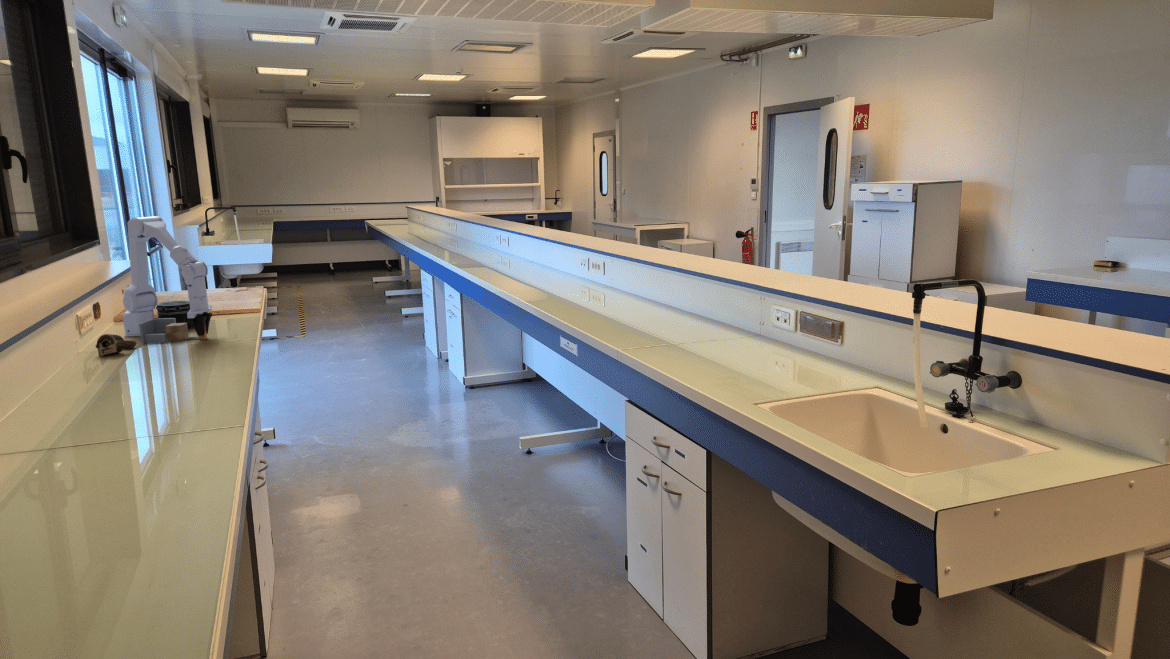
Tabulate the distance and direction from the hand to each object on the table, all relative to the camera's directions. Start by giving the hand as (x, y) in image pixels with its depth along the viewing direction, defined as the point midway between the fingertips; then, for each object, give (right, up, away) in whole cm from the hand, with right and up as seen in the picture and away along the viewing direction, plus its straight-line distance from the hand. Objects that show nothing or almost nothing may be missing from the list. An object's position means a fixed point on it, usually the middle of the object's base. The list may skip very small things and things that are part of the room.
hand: (202, 334), depth 259 cm
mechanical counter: (-18, -6, -17) cm, 26 cm away
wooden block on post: (-5, -2, 0) cm, 5 cm away
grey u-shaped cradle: (-15, -2, 0) cm, 15 cm away
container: (-20, +2, +20) cm, 29 cm away
